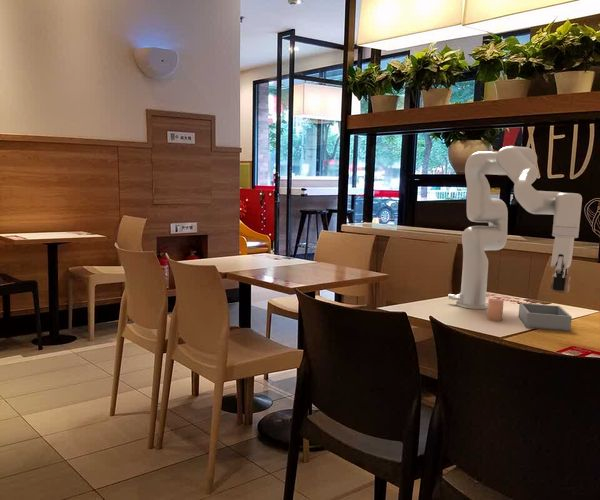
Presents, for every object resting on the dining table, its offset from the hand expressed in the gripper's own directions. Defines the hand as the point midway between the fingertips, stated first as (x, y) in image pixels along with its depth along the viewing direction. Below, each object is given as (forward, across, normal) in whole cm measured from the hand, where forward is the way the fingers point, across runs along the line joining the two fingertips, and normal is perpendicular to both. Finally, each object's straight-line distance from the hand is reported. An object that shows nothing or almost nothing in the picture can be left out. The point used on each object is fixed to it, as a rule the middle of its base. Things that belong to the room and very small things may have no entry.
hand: (559, 288), depth 180 cm
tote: (+15, -12, -6) cm, 20 cm away
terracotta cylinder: (+15, -7, -21) cm, 27 cm away
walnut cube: (+1, 0, 0) cm, 1 cm away
